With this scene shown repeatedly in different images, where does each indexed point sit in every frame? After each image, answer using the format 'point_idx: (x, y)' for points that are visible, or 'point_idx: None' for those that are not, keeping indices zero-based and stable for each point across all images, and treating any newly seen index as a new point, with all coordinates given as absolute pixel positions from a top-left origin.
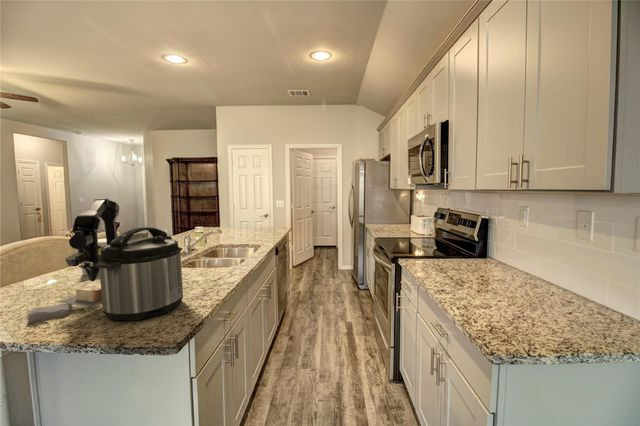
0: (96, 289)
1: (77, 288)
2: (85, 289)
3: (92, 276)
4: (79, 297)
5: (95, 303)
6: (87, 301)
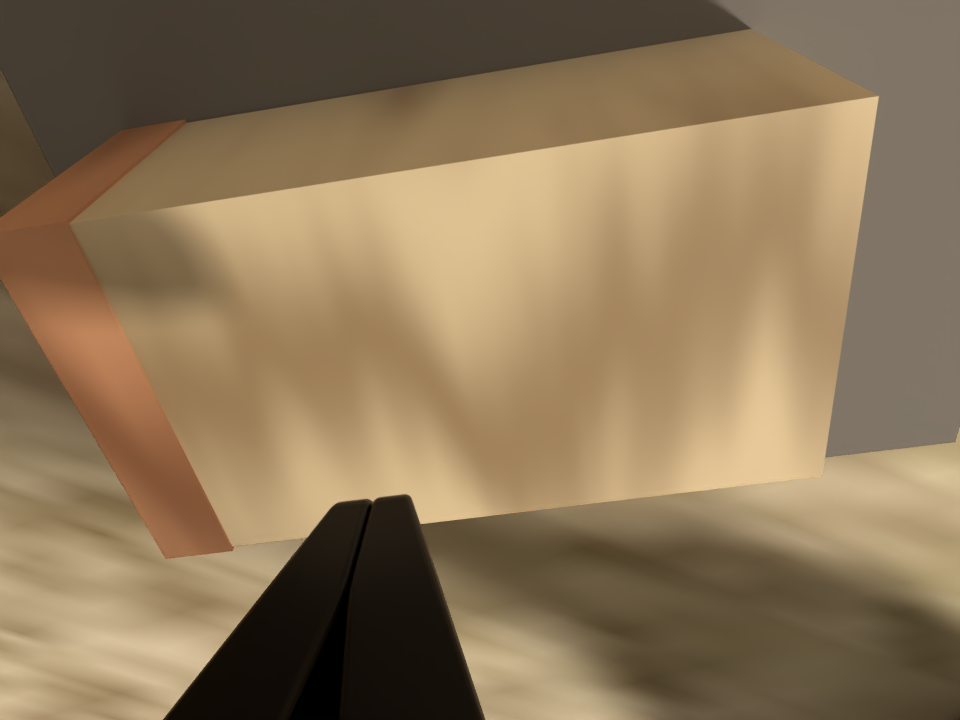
0: (158, 345)
1: (859, 153)
2: (471, 213)
3: (210, 699)
4: (655, 61)
5: (27, 89)
6: (341, 74)
